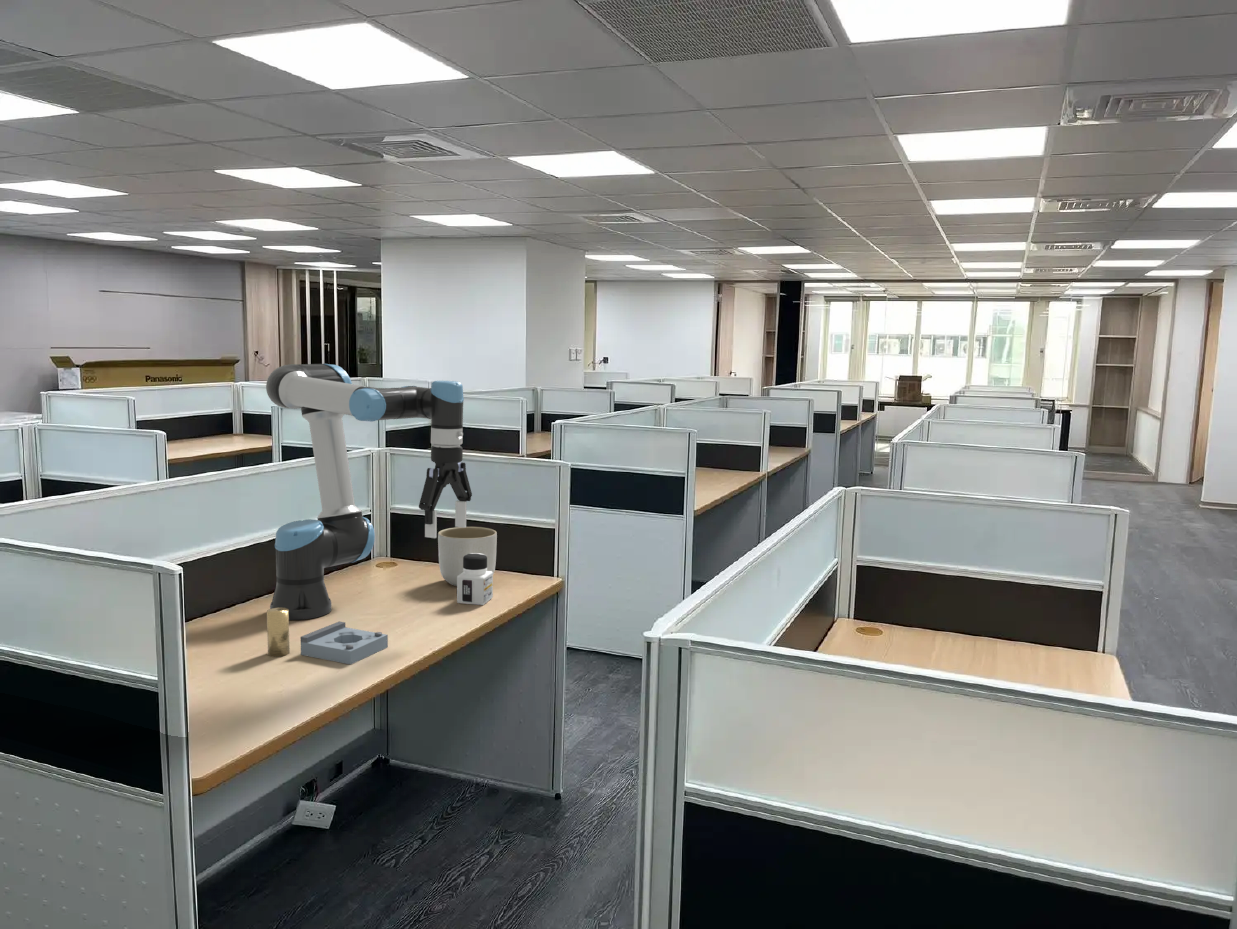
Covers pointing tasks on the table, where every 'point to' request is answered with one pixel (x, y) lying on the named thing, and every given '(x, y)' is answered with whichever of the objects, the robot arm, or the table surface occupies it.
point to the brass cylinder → (278, 632)
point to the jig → (342, 643)
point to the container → (475, 580)
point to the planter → (464, 549)
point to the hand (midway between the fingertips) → (446, 532)
